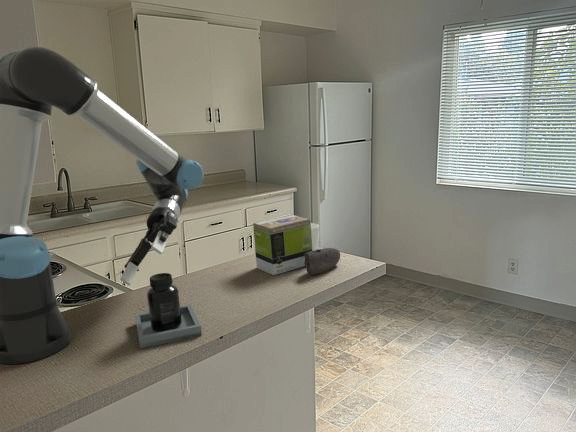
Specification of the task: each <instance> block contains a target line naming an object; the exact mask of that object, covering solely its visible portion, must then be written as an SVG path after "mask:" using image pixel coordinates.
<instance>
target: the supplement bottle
mask: <svg viewBox="0 0 576 432" xmlns="http://www.w3.org/2000/svg"><path fill="white" fill-rule="evenodd" d="M172 276H173V275H172V274H171V273H168V272H164V273H163V272H161V273H157V274H152V275H151V276H150V277H149V287H150V288H149V289H148V290H147V293H146V296H147V297H146V298H147V299H146V300H147V305H148V312H149V315H150V322H151V328H152V329H153V330H154V331H156V332H163V331H168V330H173V329H177V328H178V327H179V326H180V325H181V323H182V320H181V311H180V306H181V305H180V303H181V302H180V296H179V289H178V287H177V286H176V285H174V284H173V283H174V281H173V277H172Z"/></svg>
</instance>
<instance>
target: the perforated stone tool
mask: <svg viewBox="0 0 576 432" xmlns="http://www.w3.org/2000/svg"><path fill="white" fill-rule="evenodd" d="M304 256H305V266H304V267H306V272H307V273H308V274H309V275H310V276H314V275H319V274H322V273H324V272H327V271H328V270H331V269H332V268H335V266H337V264H339V262H340V260H341V252H340V250H338V248H337V249H336V248H334V247H326V248H325V247H323V248H318V249H317V250H315V251H310V252H307V253H305V254H304Z"/></svg>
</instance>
